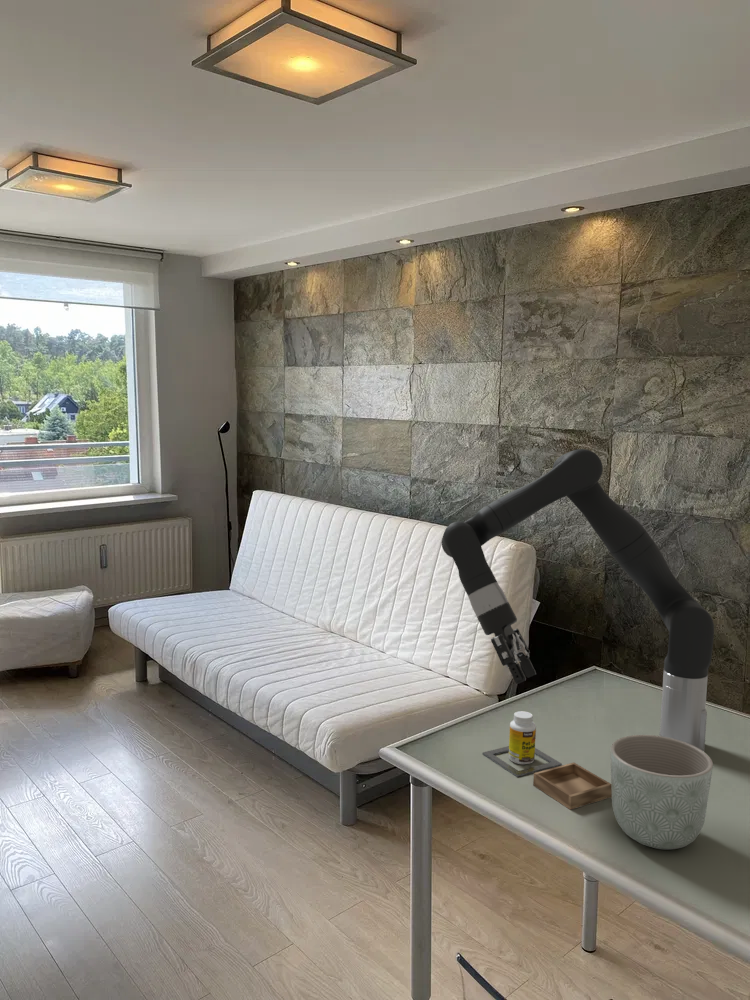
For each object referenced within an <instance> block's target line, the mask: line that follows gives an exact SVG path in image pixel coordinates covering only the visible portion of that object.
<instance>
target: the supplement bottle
mask: <svg viewBox="0 0 750 1000" xmlns="http://www.w3.org/2000/svg"><path fill="white" fill-rule="evenodd" d="M533 717H534V716H533V714H532V713H531V712H528V711H521V710H520V711H519V710H518V711H516V712H514V713H513V720H511V721H510V722H509V736H508V737H509V738H508V739H509V741H508V746H509V752H508V759H509V760H510V761H511V762H513V763H515V764H518V765H529V764H532V763H533V762H535V755H536V754H535V748H536V737H537V736H536V733H537V726H536V723H535V722H534V720H533V719H534V718H533Z"/></svg>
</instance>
